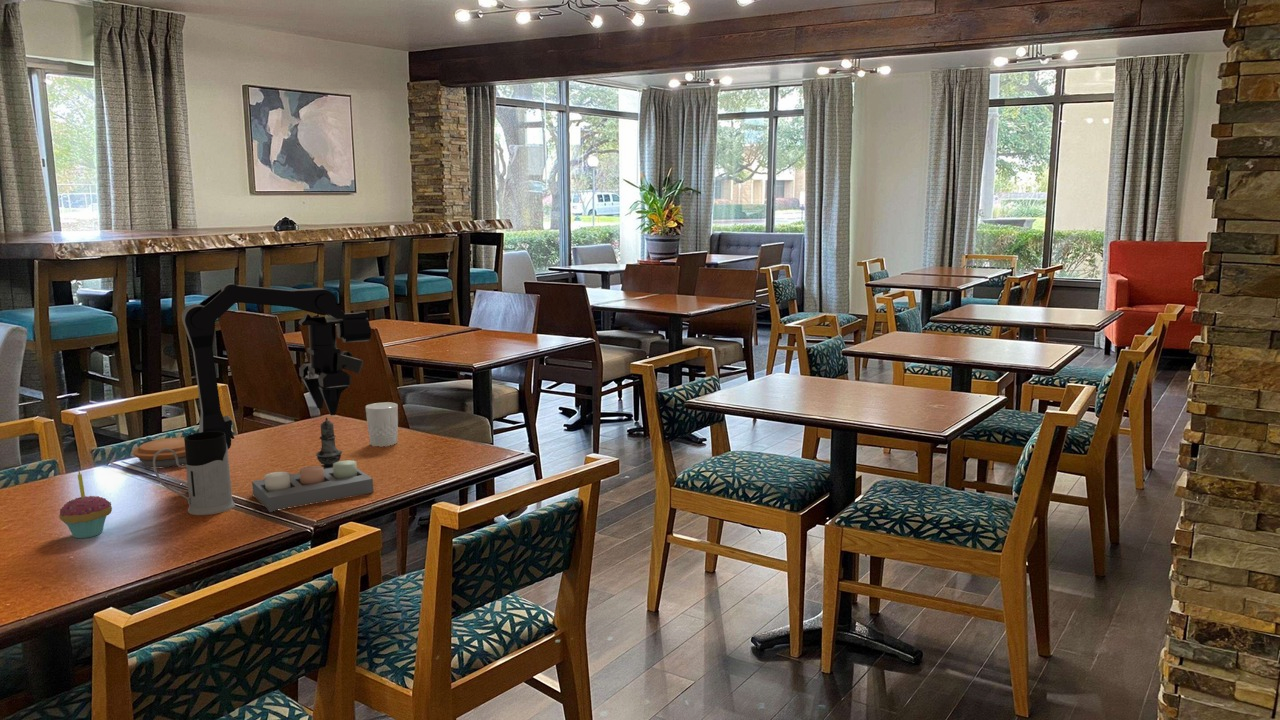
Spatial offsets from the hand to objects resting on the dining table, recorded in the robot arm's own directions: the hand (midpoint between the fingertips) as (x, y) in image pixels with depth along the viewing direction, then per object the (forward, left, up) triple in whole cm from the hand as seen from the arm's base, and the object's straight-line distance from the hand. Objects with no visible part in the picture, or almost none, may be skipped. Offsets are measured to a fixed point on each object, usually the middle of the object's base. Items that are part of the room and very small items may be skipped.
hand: (326, 411), depth 211 cm
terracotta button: (-9, -16, -12) cm, 22 cm away
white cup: (+18, +16, -14) cm, 28 cm away
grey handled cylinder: (-31, -13, -14) cm, 36 cm away
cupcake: (-50, -15, -14) cm, 54 cm away
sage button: (-2, -16, -12) cm, 20 cm away
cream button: (-16, -16, -12) cm, 25 cm away
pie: (-29, +32, -14) cm, 45 cm away
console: (-9, -16, -14) cm, 23 cm away
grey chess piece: (0, +2, -14) cm, 14 cm away
